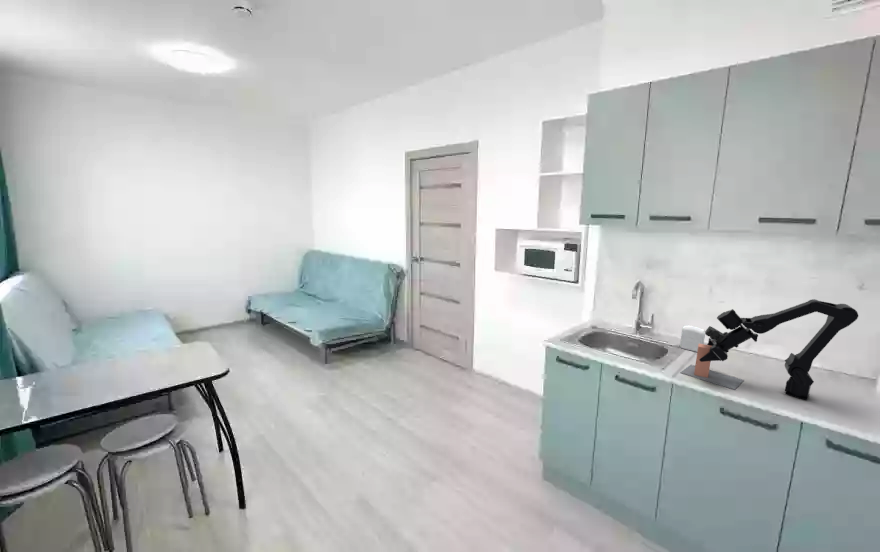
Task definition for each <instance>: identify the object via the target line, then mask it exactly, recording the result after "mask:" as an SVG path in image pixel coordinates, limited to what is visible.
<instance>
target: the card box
mask: <svg viewBox="0 0 880 552" xmlns="http://www.w3.org/2000/svg"><path fill="white" fill-rule="evenodd" d="M710 347H712V346H710V345H707V344H705V343H704V344H698V351H697V352H696V360H695V371H694V375H697V376H702V377H706V378H708V375H709V370H710V368H711V362H712V361H704V362H701V361H700V360H699V359H700V358H702V357H703V356H704V355H705V354H707V353H708V352H709V350H710Z"/></svg>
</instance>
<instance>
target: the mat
mask: <svg viewBox="0 0 880 552" xmlns="http://www.w3.org/2000/svg"><path fill="white" fill-rule="evenodd" d="M694 371H695V365H693V364H690V365H688V366H687V367H686V368H684V369H683V370H681V371H680V374H682V375H685V376H689V377H692V378H695V379H697V380H698V379H699V380H700V381H701V380H702V381H705V382H708V383H710V384H714V385H717V386H720V387H723V388H727V389H730V390H734V391H735V390H736V389H738V387H740V385H741V384H742V383H743V382H745V379H742V378H739V377H735V376H733V375H732V376H731V375H729V374H725V373H722V372H718V371H714V370H711V369H709V375H708V378H706V377H702V376H697V375H694Z"/></svg>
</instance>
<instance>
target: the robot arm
mask: <svg viewBox="0 0 880 552" xmlns="http://www.w3.org/2000/svg"><path fill="white" fill-rule="evenodd" d="M814 313H818V314H822V315H826V316H827V317H826V320H825V323H824V324H823V325H822V327H821V328H820V329H819V330H818V331H817V333H815V335H814V336H813V337H812V338H811V339H810V340H809V342H808V343H806V345H805V346H804V348H802V350H801V351H800V352H798V353H796V354H794V353H792V352H791V353H790V354H789V355H788V357H787V358H786V359H784V362H785V363H784V368H785V370H786V372H787V374H788V375H789V376H790V377H789V378H788V379H787V380H786V383H785V386H784V387H785V388H784V391H785V392H784V393H785V395H788V396H790V397H791V396H792V397H795V398H797V399H802V400H804V401H808V399H809V398H810V391H811V387H812V385H813V384H814V382H815V381H814V379H813V378H812V377H811V376H810V374H809V372H810V370H811V367H812V365H813V361H814V360H815V358H817V357H818V356H819V354H820V353H821V352H822V351H823V350H824V349H825V347H826V346H828V344H829V343H830V342H831V341H832V340H833V339H834V337H835V336H836V335H837V334H838V333H839V332H840V331H841V330H843V329H846V328H847V327H849V326H850V325H852V324H853V323H854V322H856V321H857V320H858V318H859V313H858V311H857V310H856V309H855V308H853V307H852V306H851V305H848V304H846V303H838V304H836V303H832V302H826V301H821V300H818V299H809V300H807V301H805V302H803V303H800V304H797V305H793V306H791V307H789V308H786V309H782V310H780V311H777V312H774V313H769V314H761V315H755V316H752V317H740V316H739V315H738V314H737V312H736V311H735V310H734V309H733V308H732V309H730V310H727V311H724V312H722V313H720V314H719V315H718V316H717V317H716V319H717V320H718V321H719V322H720V323H721V324H722V325H723V326H724V328H725V329H727V330H730V331H729V332H728V331H725V332H721V331H720V330H718V329H716V328H715V327H713V326H712V325H711V326H710V325H709V326H708V327H707V328H706V330H705V336H707V337H708V342H707V344H706V345H710V346H712V347H710V350H709V352H708V353H707V354H705V355H704V356H703V357H702V358H700V359H699V360H700V361H701V362H704V361H711V362H713V361H714V362H716V361H717V362H718V361H720V362H721V361H722V362H724V361H726V360H728V357H729V355H728V353H729V351H730V350H731V349H733V348H739V345H741V344H742V343H745V342H746V341H748V340H750V339H752V340H753V342H755V343H757V341H758V337H759V335H761V334H763V335H764V334H765V333H768V332H770V331H772V330H774V328H776V327H777V326H779V325H781V324H784V323H786V322H790V321H792V320H795V319H799V318H801V317H804V316H807V315H811V314H814Z"/></svg>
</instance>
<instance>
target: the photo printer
mask: <svg viewBox="0 0 880 552" xmlns="http://www.w3.org/2000/svg"><path fill="white" fill-rule="evenodd" d="M705 331H706V330H705V329H703V328H701V327H698V326H695V325H683V327H682V328H681V336H680V343H679V344H680V345H679V348H681V349H684V350H688V351H691V352H696V353H697V351H698V344H704V345H705V337H706V334H705Z"/></svg>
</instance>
